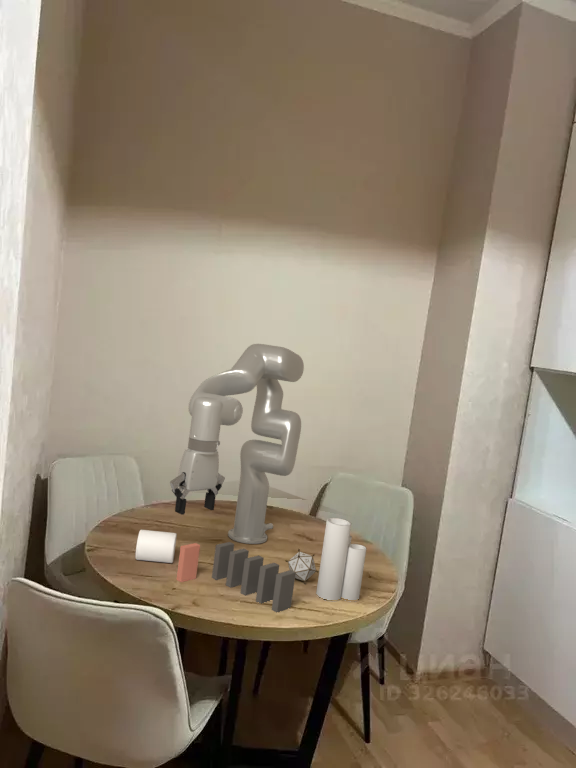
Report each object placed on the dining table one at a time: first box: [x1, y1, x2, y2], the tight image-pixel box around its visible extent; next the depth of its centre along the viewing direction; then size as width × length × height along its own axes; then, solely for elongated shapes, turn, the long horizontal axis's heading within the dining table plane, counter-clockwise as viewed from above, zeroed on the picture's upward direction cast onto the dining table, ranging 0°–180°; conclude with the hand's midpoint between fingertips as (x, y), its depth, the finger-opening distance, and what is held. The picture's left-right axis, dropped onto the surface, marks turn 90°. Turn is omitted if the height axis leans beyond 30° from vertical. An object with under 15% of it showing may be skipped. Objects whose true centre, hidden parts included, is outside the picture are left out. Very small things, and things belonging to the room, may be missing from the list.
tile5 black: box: [255, 562, 280, 605], centre depth 160 cm, size 5×2×9 cm, turn 138°
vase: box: [315, 517, 367, 601], centre depth 169 cm, size 11×7×20 cm, turn 107°
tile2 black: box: [211, 541, 235, 581], centre depth 171 cm, size 5×2×9 cm, turn 138°
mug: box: [134, 529, 177, 564], centre depth 179 cm, size 12×10×8 cm
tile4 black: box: [239, 555, 264, 596], centre depth 164 cm, size 5×2×9 cm, turn 138°
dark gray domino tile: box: [225, 548, 250, 589], centre depth 167 cm, size 5×2×9 cm, turn 138°
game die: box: [284, 548, 319, 585], centre depth 176 cm, size 9×8×10 cm
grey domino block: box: [271, 570, 296, 613], centre depth 157 cm, size 5×2×9 cm, turn 138°
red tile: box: [176, 542, 201, 583], centre depth 167 cm, size 5×2×9 cm, turn 138°
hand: (194, 510), depth 165 cm, fingers open, 9 cm apart
